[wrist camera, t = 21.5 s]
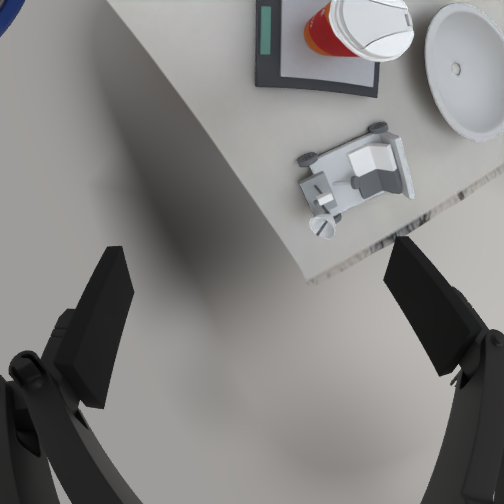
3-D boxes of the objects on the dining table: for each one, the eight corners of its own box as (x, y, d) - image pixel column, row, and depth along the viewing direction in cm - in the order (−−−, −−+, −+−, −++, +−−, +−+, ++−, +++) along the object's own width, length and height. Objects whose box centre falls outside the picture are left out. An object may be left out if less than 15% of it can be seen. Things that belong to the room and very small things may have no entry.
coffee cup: (346, 6, 27) (406, -18, 15) (360, 60, 32) (426, 61, 19) (286, 11, 28) (322, -22, 15) (302, 68, 32) (347, 65, 20)
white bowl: (434, 153, 43) (456, 165, 38) (375, 27, 31) (398, 23, 26) (505, 105, 37) (528, 113, 32) (464, -5, 25) (488, -7, 20)
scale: (255, 86, 36) (258, 87, 33) (256, -15, 28) (259, -23, 24) (368, 96, 38) (379, 98, 35) (371, 2, 29) (383, -2, 26)
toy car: (325, 259, 41) (293, 190, 35) (308, 225, 49) (279, 166, 43) (430, 206, 38) (415, 134, 32) (399, 182, 46) (381, 120, 40)
